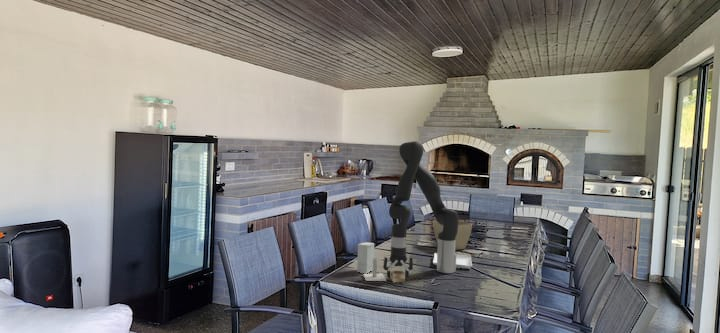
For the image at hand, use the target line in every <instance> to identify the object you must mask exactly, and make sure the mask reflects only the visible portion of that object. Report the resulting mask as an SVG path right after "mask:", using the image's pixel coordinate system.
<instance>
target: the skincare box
mask: <svg viewBox="0 0 720 333" xmlns="http://www.w3.org/2000/svg"><path fill="white" fill-rule="evenodd" d="M373 258H375V243H374V242H370V241H369V242H367V241H364V242H362V243H358V244H357V258H356V259H357V266H356V272H357V273H358V272H360V273H359V274H363V273H366V274H367V273H368V274H370V273H371V272H370V271H372V270H373ZM369 272H370V273H369ZM372 272H373V271H372Z"/></svg>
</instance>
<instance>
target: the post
mask: <svg viewBox="0 0 720 333" xmlns="http://www.w3.org/2000/svg"><path fill="white" fill-rule="evenodd" d="M377 270H378V257H377V258H376V257H374V258H373V271H372V273H368V274H363V273H362V276H363V275H364V276H363V279H364V278H365V279H364V281H365V280H366V281H386V282H387V279H386V277H385V274H384V273H378V271H377ZM366 281H365V282H366Z"/></svg>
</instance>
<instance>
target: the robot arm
mask: <svg viewBox="0 0 720 333" xmlns="http://www.w3.org/2000/svg"><path fill="white" fill-rule="evenodd" d="M398 149H399V155H400V157H401V159H402V160H403V162H404V164H405V165H406V168H405V170H404V171H403V174H402V175H401V177H400V179H399V180H398V184H397V188H396V193H395V196H394V198H393V200H392V202H391V204H390V206H389V208H388V214H389V217H390V218H391V219H394V220H400V221H399V223H394V224H392V227H391V228H392V229H391V239H390V257H389V256H388V257H387V256H384V257H383V270H384V271H386V277H387V278H388V279H390V276H391V271H392V269H393V268H394V267H402V266H403V267H404V269H405V272H404V273H405V279H408V278H409V276H410V275H409V274H410V273H409V272H410V271H412V270H413V266H414V263H413V261H414V260H413V258H412V256H409V257H407V245H408V244H407V229H408V228H407V227H408V224H409V221H410V218H411V215H412V214H411V213H412V212H411V209H410V207H409V206H408V205H402V203H403V202H407V201H409V200H411V195H412V189H413V184H414V182H415V181H416V183H417V185H418V187H419V189H420V191H421V192H422V194H423V195H424V198H425V199H426V201H427V202H428V204H429V206H430V208H431V210H432V213H433V215H434V218H435V221H437V222H438V223H439V224H441V225H443V231H442V232H440V233H439V234H438V244H437V250H436V251H437V252H436V253H437V266H436V271H437V272H439V273H443V274H453V273H456V270H457V268H456V255H457V254H456V250H455V242H456V235H457V232H458V221H460V220H459V214H458V212H457V211H456V210H454V209H450V208H448V207H447V206H446V205H445V203H444V202H443V200H442V197H441V188H440V187H441V186H440V185H439V183H438V181H437V178H435V175H434V174H433V173H432V172H431V171H430V170H429V169H427V168H426V167H424V165H423V164H422V163H421V161H422V157H423V155H424V146H423V145H422V143H421V142H419V141H408V142H403V143H401V144H400V146H399V148H398ZM414 180H415V181H414ZM389 261H390V263H389V265H388V262H389ZM406 262H408V266H407V265H406ZM390 280H391V279H390Z"/></svg>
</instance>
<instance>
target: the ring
mask: <svg viewBox="0 0 720 333" xmlns="http://www.w3.org/2000/svg"><path fill="white" fill-rule="evenodd" d="M390 278H391V279H392V280H391V279H390V280H391V282H392V281H393V282H392V283H405V282H406V278H405V272H404V271H403V270H390Z"/></svg>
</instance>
